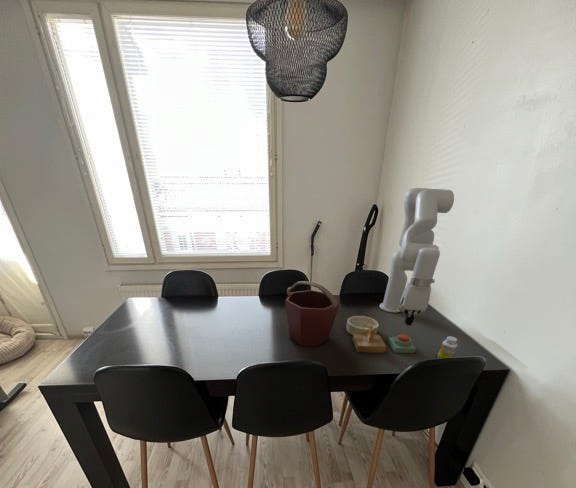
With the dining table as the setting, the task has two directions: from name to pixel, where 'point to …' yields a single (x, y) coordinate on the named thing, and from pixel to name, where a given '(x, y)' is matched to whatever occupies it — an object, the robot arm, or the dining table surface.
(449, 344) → the supplement bottle
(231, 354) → the dining table surface
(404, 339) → the button
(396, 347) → the button block
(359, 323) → the basin
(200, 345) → the dining table surface
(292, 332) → the bucket
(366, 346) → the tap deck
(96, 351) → the dining table surface
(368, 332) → the tap lever
